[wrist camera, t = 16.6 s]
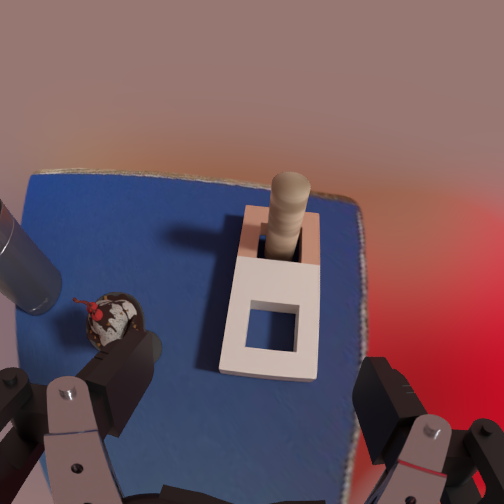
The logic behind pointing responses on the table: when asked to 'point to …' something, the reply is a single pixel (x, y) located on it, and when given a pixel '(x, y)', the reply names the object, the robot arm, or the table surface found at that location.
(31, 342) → the table surface
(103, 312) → the sundae
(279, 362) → the dock board
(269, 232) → the peg
